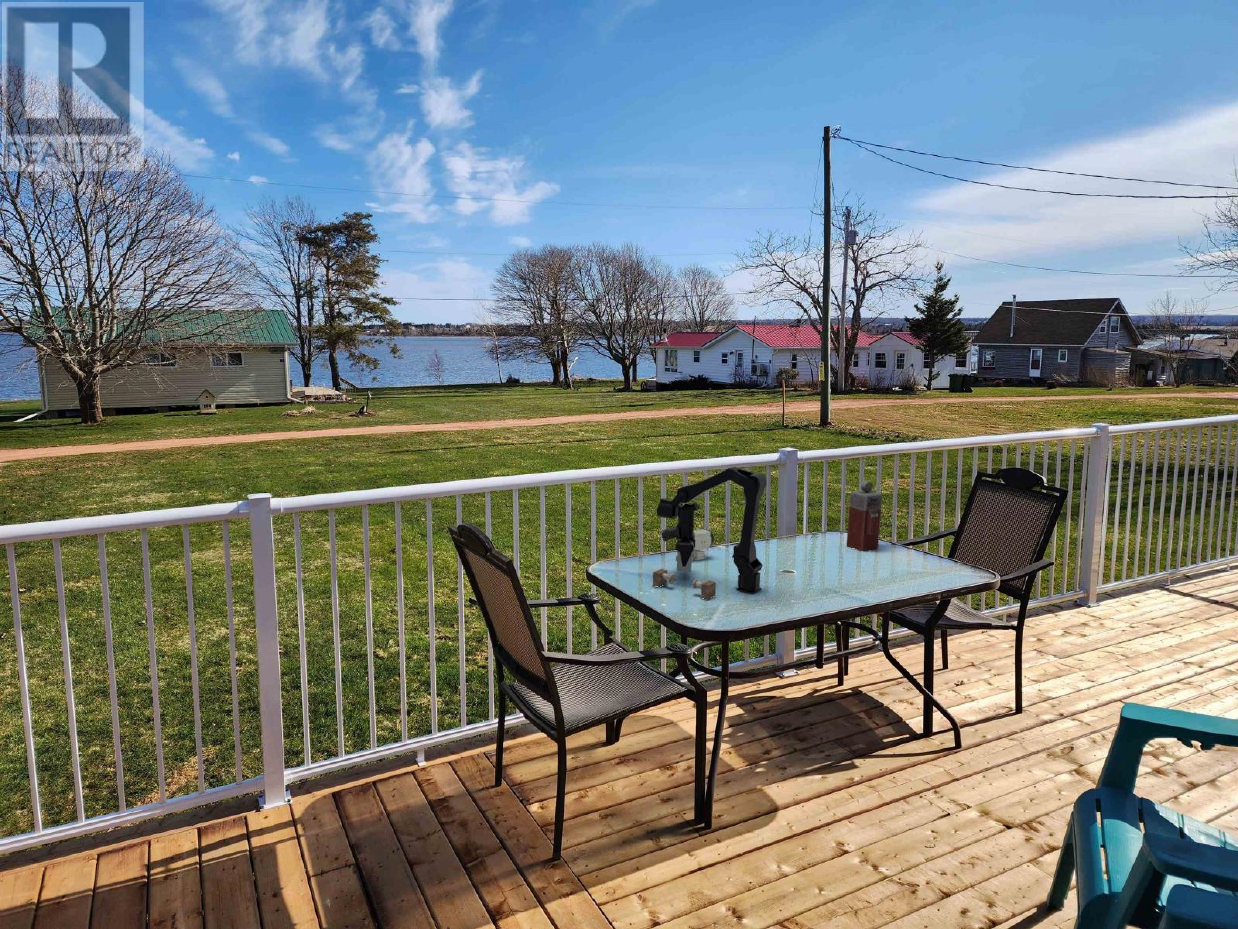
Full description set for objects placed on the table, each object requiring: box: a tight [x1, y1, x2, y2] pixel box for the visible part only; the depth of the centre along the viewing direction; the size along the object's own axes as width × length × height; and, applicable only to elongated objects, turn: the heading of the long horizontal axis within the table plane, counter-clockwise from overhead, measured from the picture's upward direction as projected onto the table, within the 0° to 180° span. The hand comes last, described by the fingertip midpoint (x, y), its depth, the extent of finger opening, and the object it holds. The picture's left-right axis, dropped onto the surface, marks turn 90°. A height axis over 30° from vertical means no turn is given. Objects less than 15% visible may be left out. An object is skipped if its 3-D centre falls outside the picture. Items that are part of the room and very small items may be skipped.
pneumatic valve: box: [690, 528, 715, 561], centre depth 294 cm, size 6×12×12 cm, turn 122°
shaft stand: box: [652, 568, 717, 600], centre depth 256 cm, size 22×5×5 cm, turn 53°
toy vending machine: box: [846, 480, 883, 552], centre depth 314 cm, size 9×11×28 cm
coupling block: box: [675, 551, 694, 573], centre depth 271 cm, size 6×5×8 cm
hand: (684, 564), depth 271 cm, fingers closed on coupling block, 5 cm apart
